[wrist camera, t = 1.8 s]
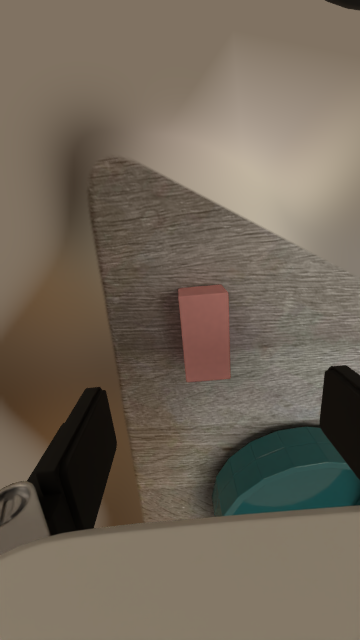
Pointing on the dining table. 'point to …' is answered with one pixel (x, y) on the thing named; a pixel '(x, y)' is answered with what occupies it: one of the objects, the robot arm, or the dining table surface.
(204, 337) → the eraser
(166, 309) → the dining table surface
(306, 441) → the bowl
